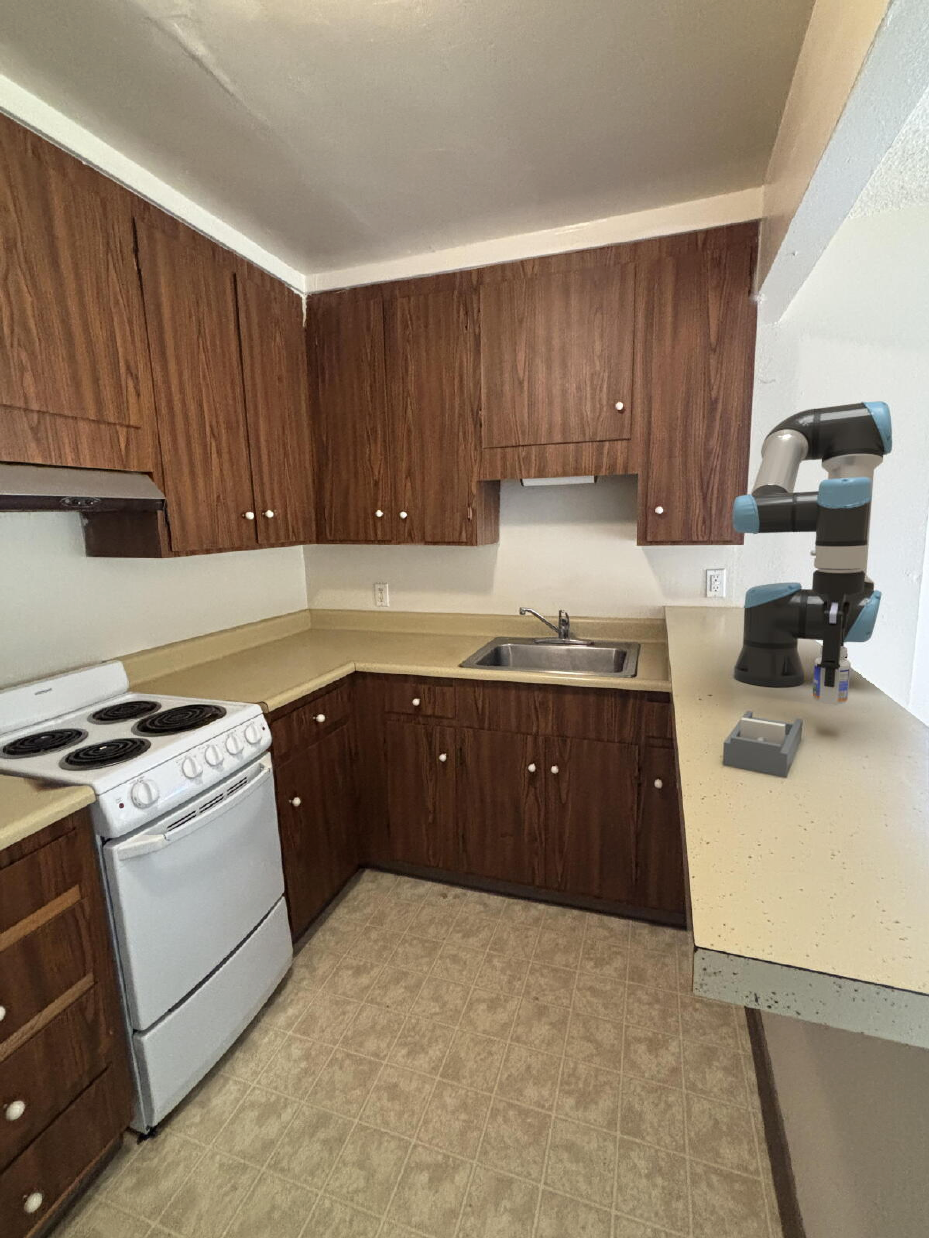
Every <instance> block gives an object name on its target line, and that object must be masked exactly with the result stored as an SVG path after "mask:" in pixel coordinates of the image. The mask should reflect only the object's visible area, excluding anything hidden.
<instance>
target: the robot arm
mask: <svg viewBox="0 0 929 1238" xmlns="http://www.w3.org/2000/svg"><path fill="white" fill-rule="evenodd" d="M892 426H893V424H892V417H891V411H890V407H889V405H888V404H887V403H886V402H884V401H881V400H879V401H878V400H877V401H861V402H857V403H850V404H849V403H848V404H842V405H835V406H826V407H820V408H809V409H805V410H803V411H799V412H797V413H794V414H792V415H791V416H789V417H786V419H784V420H782V421H781V422H779V423H778V424H777V425H776V426H774V427H773V429H771V430H770V431H769V432H768V434H767V435H766V437H765V439H764V440H763V442H762V445H761V449H760V454H761V459H762V460H761V462H760V466H759V469H758V472H757V475H756V478H755V481H754V483H753V487H752V489H751V493H750V494H749V493H748V494H744V495H739V496H737V497H736V498H735V500H734V502H733V506H732V508H733V509H732V526H733V530H735V532H737V533H739V534H753V535H757V534H772V533H773V534H774V533H775V534H777V533H815V542H814V545H815V546H814V549H815V550H811V551H810V556H811V557H814V556H815V557H814V560H813V567H814V568H815V569H816V570H815V571H814V572H813V573H812V584H811V585H812V586H811V587H812V588H811V589H805V588H804V589H802V588H803V586H802V585H801V583H800V582H795V581H794V582H777V583H768V584H761V585H755V586H753V587H751V588H749V589H748V590H747V591H746V593H745V599H744V604H743V609H744V614H743V615H744V616H743V617H744V618H743V639H742V640H743V641H742V648H741V650H740V652H739V655H738V657H737V660H736V662H735V664H734V667H733V677H734V678H735V679H736V680H738V681H740V682H742V683H746V684H747V683H748V684H751V685H756V686H757V685H758V686H762V687H763V686H764V687H776V688H777V687H778V688H782V687H784V688H785V687H786V688H787V687H788V688H789V687H796V686H800V685H802V684H804V682H805V670H804V667H803V663H802V660H801V656H800V654H799V651H798V650H799V649H798V645H799V643H798V642H799V640H810V641H811V640H813V641H822V646H823V647H822V661H821V663H820V664H817V667H820V668H821V682H820V697H819V701H818V703H821V704H828V705H834V706H837V705H839V704H838V693H839V679H840V668H839V667H840V664H839V662H840V651H841V646H843V647H845V643H846V644H847V643H865V642H867V641H869V640H870V639H871V638H872V636H873V632H874V630H875V629H874V628H875V625H876V621H877V617H878V613H879V608H880V604H881V600H882V599H881V598H882V595H883V593H882V591H879V590H877V589H874V588H875V582H874V581H873V580H872V579H871V578H869V576H868V575H867V571H868V570H867V569H868V559H869V558H868V557H869V544H870V542H869V541H870V530H871V515H872V503H873V502H872V501H873V500H872V499H873V490H874V489H873V488H874V473H875V469H877V467H879V466H881V464H882V463H883V462H884V456H886V455H888V454H890V453H891V452H892V451H893V435H892V434H893V428H892ZM817 460H821V468H822V469H823V470H825V471H826V472H827V474H828V475H827V479H824V480H822V481H821V482H820V483H819V485H818V490H816V491H815V490H814V491H802V492H801V491H800V492H799V491H798V492H797V491H796V492H794V491H795V487H796V483H797V477H798V473H799V469H800V465H801V463H802V462H803V461H804V462H805V461H806V462H807V461H817ZM848 655H849V654H848V653H847V656H846V657H845V659H847V660H848ZM829 660H830V661H829Z"/></svg>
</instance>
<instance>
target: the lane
mask: <svg viewBox="0 0 929 1238" xmlns="http://www.w3.org/2000/svg"><path fill="white" fill-rule="evenodd" d="M753 715H754V713H753V711H751V710H746V711H745V713H744V714H743V716H742V717H743V718H749V719H755V720H762V721H768V722H774V723H781V724H785V742H784V745H783V747H782V749H781V744H776V743H770V742H765V741H759V740H753V739H748V738H742V737H740V728H741V719H742V717H741V718H740V719H739V721H738V722H737V723H736V725H735V727H733V729H732V731H731V732H730V733H729V734H728V736H727V737H726V739H725V740H724V742H723V754H722V765H724V766H727V767H733V768H738V769H743V770H748V771H753V772H757V773H761V774H766V775H772V776H777V777H782V778H787V776H788V774H789V772H790V769H791V767H792V764H793V761H794V759H795V757H796V754H797V752H798V749H799V747H800V744H801V742H802V740H803V739H802V737H803V720H804V719H803V718H797V717H796V718H795V720H794V722H787V721H782V720H775V719H770V718H769V719H768V718H763V717H762V718H761V717H758V716H757V717H756V716H753Z"/></svg>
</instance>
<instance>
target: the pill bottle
mask: <svg viewBox="0 0 929 1238" xmlns="http://www.w3.org/2000/svg"><path fill="white" fill-rule="evenodd" d="M822 647H823V645H821V646H820V650H819V654H820V655H821V656H819V657H816V659H814V667H813V681H812V698H813V699H814V700H815V701H818V702H819V697H820V682H821V668H820V667H817V664H820V663H821V661H822ZM847 654H848V648H847V647H845V646H844V647H843V646H841V651H840V662H839V664H840V667H839V668H840V679H839V693H838V704H837V705H841V704H844V703H847V701H848V700H849V685H850V676H851V667H852V666H851V665H852V664H851V662H850V660H848V658H847V659H846V658H845V657H846V656H847ZM847 657H848V656H847ZM829 661H830V660H829Z"/></svg>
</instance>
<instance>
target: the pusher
mask: <svg viewBox="0 0 929 1238" xmlns="http://www.w3.org/2000/svg"><path fill="white" fill-rule="evenodd" d="M741 718H742V719H741ZM741 718H740V719H741V728H740V737H742V738H748V739H753V740H759V741H765V742H770V743H776V744H781V749H782V747H783V745H784V742H785V724H781V723H774V722H768V721H762V720H755V719H749V718H743V716H742V717H741Z"/></svg>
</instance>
